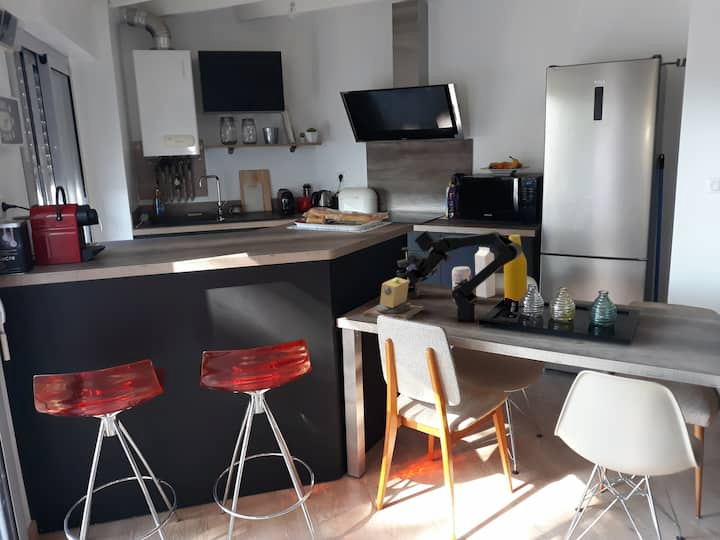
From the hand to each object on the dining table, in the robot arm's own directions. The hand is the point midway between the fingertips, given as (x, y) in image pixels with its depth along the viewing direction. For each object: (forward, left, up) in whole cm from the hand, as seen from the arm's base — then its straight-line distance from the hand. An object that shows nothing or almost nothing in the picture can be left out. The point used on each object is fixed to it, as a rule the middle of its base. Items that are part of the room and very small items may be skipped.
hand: (409, 286), depth 232 cm
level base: (+8, -1, -12) cm, 15 cm away
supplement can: (-16, -23, -12) cm, 31 cm away
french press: (+11, -29, -12) cm, 33 cm away
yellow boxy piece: (+8, -1, -8) cm, 12 cm away
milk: (-24, -34, -12) cm, 43 cm away
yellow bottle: (-39, -21, -12) cm, 46 cm away
